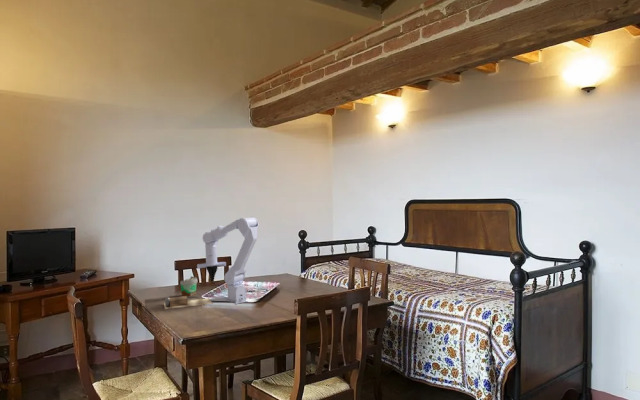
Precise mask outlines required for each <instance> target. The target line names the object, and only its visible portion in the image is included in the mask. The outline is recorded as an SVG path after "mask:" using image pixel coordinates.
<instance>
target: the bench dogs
mask: <svg viewBox="0 0 640 400" xmlns="http://www.w3.org/2000/svg"><path fill="white" fill-rule="evenodd" d="M169 298H170V297H169V296H166V297H165V298H164V303H165V305H166V307H170V299H169Z"/></svg>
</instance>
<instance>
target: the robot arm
mask: <svg viewBox="0 0 640 400" xmlns="http://www.w3.org/2000/svg"><path fill="white" fill-rule="evenodd" d="M259 226H260V224H259V221H258V219H257V218H256V217H254V216H251V217H240V218H239V219H236V220H234V221H232V222H231V223H229V224H227V225H226V226H224V225H218V226H217V228H215V229H214V228H213V229H211V230H210V231H207V232H205V233H204V234H203V235H202V241H203V243H205V263H198V264H196V267H197V268H196V269H203V268H204V269H205V268H206V270H207V272H208V275H209V279H210V282H214V281H215V276H216V274H217V272H218V269H219V268H218V267H227V262H226V261H218V242H219V240H221V239H223V238H225V237H227V236H228V233H230V232H233V231H234V230H239V232H240V233H241V234H242V235H241V236H243V237H244V240H243V243H242V245H241V248H240V249H239V252H238V254H237V256H236V258H235V261H234V264H233V265H232V266H231V267H229V269H227V270H228V271H227V272H225V274H224V275H223V276H224V277H223V280H224V282H225V284H226V285H227V299H228V301H231V302H232V303H233V304H234V305H238V304H242V303H247V302H248V301H246V300H247V289H246V287H245V286H244V285H243V283H244V280H245V278H246V271H247V270H246V268H245V267H246V264H247V262H248V260H249V258H250V255H251V254H252V251H253V249H254V247H255V245H256V242H257V239H258V229H259V228H260V227H259Z"/></svg>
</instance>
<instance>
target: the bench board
mask: <svg viewBox="0 0 640 400" xmlns="http://www.w3.org/2000/svg"><path fill="white" fill-rule="evenodd" d="M211 304H212V305H213V302H212V301H211V299H210V297H209V298H208V297H207V298H199V299H198V298H197V299H190V300H188V305H182V306H174V307H166V305H165V302H164V303H163V306H164V309H165V310H171V309H178V308H186V307H195V306H202V305H204V306H205V305H211Z"/></svg>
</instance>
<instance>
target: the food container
mask: <svg viewBox="0 0 640 400" xmlns="http://www.w3.org/2000/svg"><path fill="white" fill-rule="evenodd" d="M198 282H199V281H198V278H197V277H196V276H190V278H187V279H185V280H180V282H179V285H180V292H181V293H180V294H181V297H183V296H186V297H192V296H195V295H197V283H198Z"/></svg>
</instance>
